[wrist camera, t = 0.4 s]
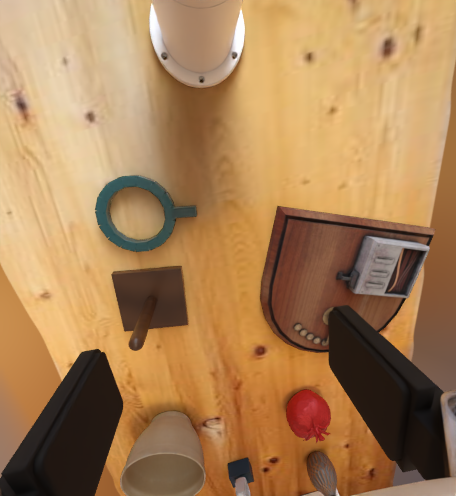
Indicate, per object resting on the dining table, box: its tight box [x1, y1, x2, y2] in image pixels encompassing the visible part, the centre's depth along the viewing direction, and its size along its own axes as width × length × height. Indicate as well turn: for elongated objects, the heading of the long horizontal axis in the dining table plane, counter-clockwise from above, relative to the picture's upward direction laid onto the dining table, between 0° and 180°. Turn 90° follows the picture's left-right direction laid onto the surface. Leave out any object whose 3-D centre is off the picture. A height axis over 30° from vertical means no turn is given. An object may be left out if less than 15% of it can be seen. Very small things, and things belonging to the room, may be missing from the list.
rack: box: [112, 266, 188, 351], centre depth 39 cm, size 12×12×13 cm
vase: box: [307, 451, 337, 496], centre depth 62 cm, size 7×7×9 cm
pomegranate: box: [286, 389, 331, 443], centre depth 54 cm, size 10×10×9 cm
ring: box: [95, 175, 197, 252], centre depth 39 cm, size 12×16×2 cm
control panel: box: [260, 206, 435, 353], centre depth 46 cm, size 31×5×30 cm
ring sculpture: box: [228, 458, 254, 496], centre depth 59 cm, size 6×8×11 cm
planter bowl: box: [120, 411, 205, 496], centre depth 51 cm, size 16×16×11 cm
